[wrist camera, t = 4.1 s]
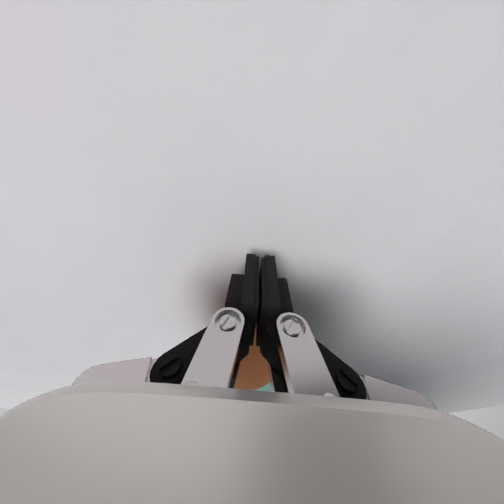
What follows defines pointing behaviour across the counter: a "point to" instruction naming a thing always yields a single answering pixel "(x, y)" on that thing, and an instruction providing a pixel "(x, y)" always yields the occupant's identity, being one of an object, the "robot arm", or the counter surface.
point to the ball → (253, 370)
